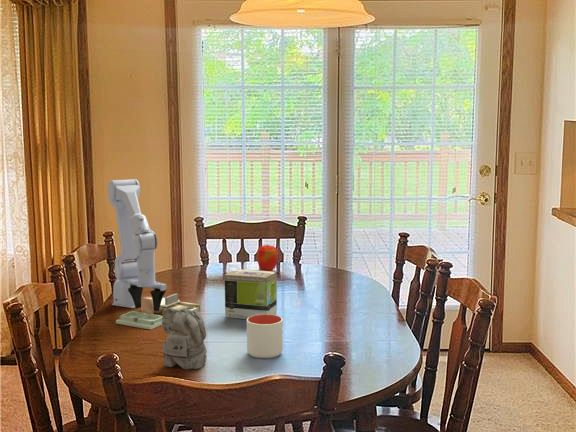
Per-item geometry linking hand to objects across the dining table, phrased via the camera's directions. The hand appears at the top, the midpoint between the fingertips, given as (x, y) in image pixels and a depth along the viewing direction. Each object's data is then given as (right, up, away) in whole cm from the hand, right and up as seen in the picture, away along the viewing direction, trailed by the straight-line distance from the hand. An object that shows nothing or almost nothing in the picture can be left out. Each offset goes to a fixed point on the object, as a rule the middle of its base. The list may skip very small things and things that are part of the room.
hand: (147, 309), depth 229 cm
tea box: (+34, -3, +1) cm, 34 cm away
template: (+7, -1, +7) cm, 10 cm away
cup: (+40, -8, -36) cm, 54 cm away
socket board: (0, -3, -7) cm, 8 cm away
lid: (+3, +1, +8) cm, 9 cm away
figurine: (+19, -9, -44) cm, 49 cm away
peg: (0, -2, 0) cm, 2 cm away
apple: (+38, +7, +66) cm, 76 cm away
